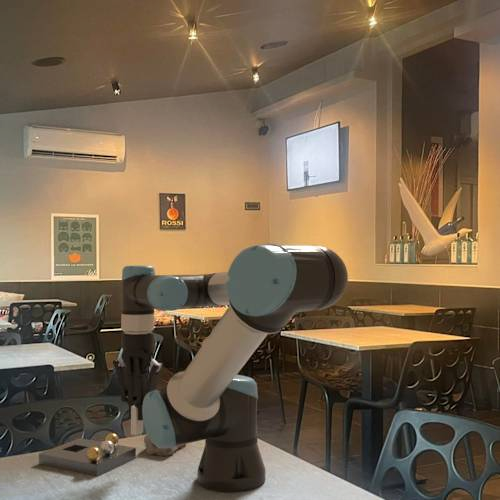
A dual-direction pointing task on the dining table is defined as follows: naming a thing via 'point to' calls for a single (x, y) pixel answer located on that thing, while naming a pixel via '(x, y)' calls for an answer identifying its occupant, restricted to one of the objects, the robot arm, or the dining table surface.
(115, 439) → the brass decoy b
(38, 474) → the dining table surface
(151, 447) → the stone
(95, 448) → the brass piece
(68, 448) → the plate
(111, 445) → the steel ball
